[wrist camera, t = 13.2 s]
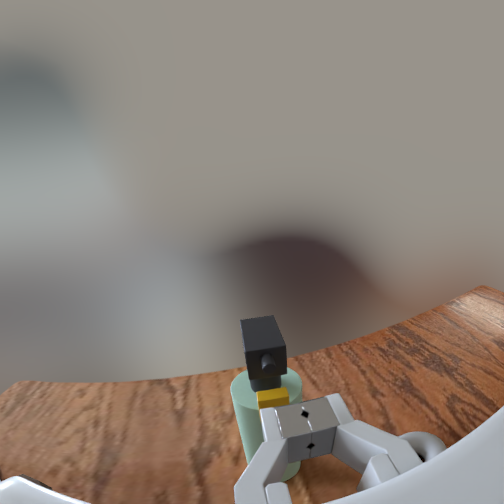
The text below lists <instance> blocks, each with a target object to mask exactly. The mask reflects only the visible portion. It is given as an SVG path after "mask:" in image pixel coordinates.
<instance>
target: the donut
mask: <svg viewBox="0 0 504 504" xmlns="http://www.w3.org/2000/svg"><path fill="white" fill-rule="evenodd" d="M399 438H402V439H405V440H407V441H408V442H409V443H410V445H411V446H412V448H413V449H414V450H415V452H416V453H417V454H419V455H421V456H422V457H423V458H424V460H425V462H426V461H428V460H430V459H431V458H433V457H435V456H436V455H438V454H440V453H441V452H443V451H445V450H446V449H447V448H446V446H445V444H444V443H443V441H442V440H441V439H439V438H438V437H437V436H435V435H433V434H430V433H427V432H411V433H406V434H404V435H401V436H399Z"/></svg>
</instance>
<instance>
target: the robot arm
mask: <svg viewBox="0 0 504 504" xmlns="http://www.w3.org/2000/svg"><path fill="white" fill-rule="evenodd" d="M260 416H261V424H262V431H263V438H264V442H262V444H261V445H260V447H259V449H258V450H257V452H256V453H255V455H254V457H253V458H252V460H251V462H250V463H249V465H248V466H247V468H246V469H245V471H244V472H243V474H242V476H241V477H240V479H239V480H238V482H237V483H236V484H235V486H234V496H235V504H292V501H291V497H290V494H289V490H288V486H287V484H285V483H283V482H280V481H281V479H282V477H283V474H284V472H285V470H286V468H287V465H288V463H293V462H297V461H302V460H306V459H309V458H314V457H318V456H323V455H327V454H331V453H332V455H333V456H335V457H336V458H338V459H339V460H341V461H342V462H344V463H345V464H347V465H348V466H350V467H351V468H353V469H354V470H356V471H358V472H359V473H361V474H362V475H363V476H362V478H361V480H360V482H359V484H358V486H357V488H356V489H357V492H358V493H355V494H352V495H349V496H346V497H343V498H340V499H337V500H334V501H330V502H327V503H323V504H504V406H503V407H502V408H501V409H499V410H498V411H497V412H496V413H495V414H494V415H493V416H491V417H490V418H489V419H488V420H486V421H485V422H484V423H483V424H481V425H480V426H479V427H478V428H476V429H475V430H474V431H472V432H471V433H470V434H468V435H467V436H465V437H464V438H463V439H461V440H460V441H458V442H457V443H455V444H454V445H452V446H451V447H449V448H448V449H446V450H445V451H443V452H441V453H440V454H438V455H436V456H435V457H433V458H431V459H430V460H428V461H426V462H424V463H423V462H422V461H421V459H420V458H419V456H418V455H417V453H416V452H415V450H414V449H413V448H412V446H411V445H410V443H409V442H408V441H407V440H405V439H402V438H399V437H397V436H395V435H392V434H390V433H387V432H385V431H383V430H380V429H378V428H376V427H373V426H371V425H369V424H367V423H364V422H362V421H360V420H356V421H355V420H354V418H353V417H352V415H351V413H350V412H349V410H348V408H347V406H346V405H345V403H344V401H343V399H342V398H341V396H340V394H338V393H336V394H332V395H329V396H325V397H320V398H316V399H312V400H308V401H304V402H300V403H295V404H289V405H283V406H277V407H274V408H273V407H271V408H264V409H260ZM0 504H91V503H87V502H84V501H81V500H77V499H74V498H71V497H68V496H65V495H63V494H60V493H57V492H55V491H52V490H49V489H47V488H44V487H42V486H40V485H37V484H35V483H33V482H31V481H29V480H27V479H25V478H22V477H19V476H14V477H11V478H8V479H6V480H4V481H2V482H1V480H0Z"/></svg>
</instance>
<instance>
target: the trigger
mask: <svg viewBox="0 0 504 504" xmlns="http://www.w3.org/2000/svg"><path fill="white" fill-rule="evenodd" d="M256 395H257V402H258V409H259V416H260V409H264V408H271V407H273V408H274V407H277V406H283V405H289V404H290V402H289V394H288V391H287V388H286V387H282V388H276V389H271V390H265V391H258V392H256ZM260 421H261V416H260ZM261 425H262V424H261Z"/></svg>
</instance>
